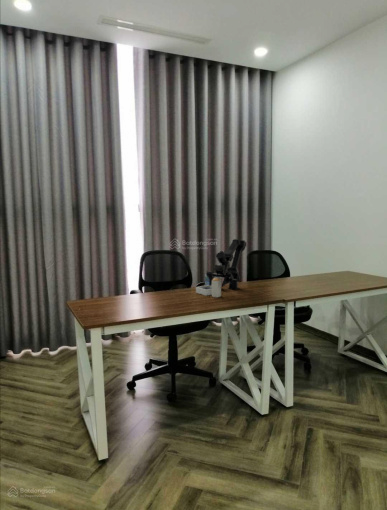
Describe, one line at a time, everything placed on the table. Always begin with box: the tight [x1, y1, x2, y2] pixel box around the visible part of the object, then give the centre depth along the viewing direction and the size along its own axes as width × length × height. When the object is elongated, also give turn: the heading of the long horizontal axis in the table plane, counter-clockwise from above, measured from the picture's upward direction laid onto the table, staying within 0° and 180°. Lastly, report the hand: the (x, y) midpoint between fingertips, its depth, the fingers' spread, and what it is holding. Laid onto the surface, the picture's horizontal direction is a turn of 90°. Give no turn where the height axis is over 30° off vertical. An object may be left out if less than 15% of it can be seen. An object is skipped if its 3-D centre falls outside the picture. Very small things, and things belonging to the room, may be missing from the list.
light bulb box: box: [204, 274, 222, 286], centre depth 273 cm, size 11×7×11 cm, turn 62°
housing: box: [195, 285, 212, 297], centre depth 258 cm, size 12×12×4 cm
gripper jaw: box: [211, 278, 222, 298], centre depth 247 cm, size 5×5×12 cm
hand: (215, 286), depth 246 cm, fingers open, 9 cm apart
